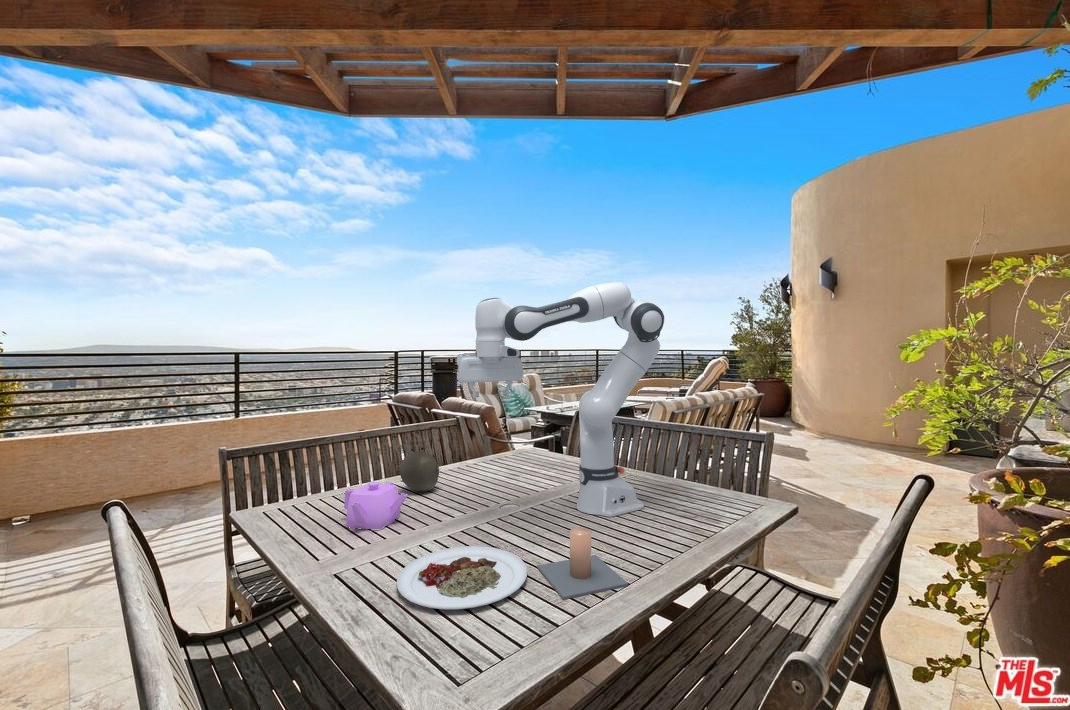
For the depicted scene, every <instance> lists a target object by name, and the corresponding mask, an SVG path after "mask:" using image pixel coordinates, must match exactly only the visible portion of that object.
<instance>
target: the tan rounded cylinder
mask: <svg viewBox="0 0 1070 710" xmlns="http://www.w3.org/2000/svg"><path fill="white" fill-rule="evenodd" d="M591 555H592V530H591V529H589V528H586V527H573V528H571V529H570V530H569V559H570V575H571V576H572V577H574V578H577V579H585V578H588V577H590V576H591Z"/></svg>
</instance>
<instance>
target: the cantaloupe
mask: <svg viewBox="0 0 1070 710" xmlns="http://www.w3.org/2000/svg"><path fill="white" fill-rule="evenodd" d="M439 467H440V466H439V464H438V463H437V460H436V458H435V457H434V456H433V455H432V454H430V453H429V452H426V451H416V452H411V453H409V454H408V455H406V456H405V457H404V458H403V460H402V461H401V463H400V465H399V475H400V478H401V480H402V482H403V484H405V486H407V487H408V488H409V489H411V490H413V491H415V492H419V491H425V492H428V491H430V490H432V489H433V488H434V487H435V486H436V485H437V483H438V480H439V477H440V476H439V475H440V468H439Z"/></svg>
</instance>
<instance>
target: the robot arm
mask: <svg viewBox="0 0 1070 710" xmlns="http://www.w3.org/2000/svg"><path fill="white" fill-rule="evenodd" d="M608 318H613V320H614V322H615V324H616V325H617V326H618V327H619V328H620V329H622V330H625V331H626V332H628V336H627V338H626V341H625V343H624V345H623V346H622V347H621V348H620V349H619V350H618V352H617V353H616V354H615V356H614V357H612V360H611V361H610V362H609V363H608V365H607V366H606V368H605V369H604V370H603V372H602V373H601V374H600V376H599V378H598V380H597V381H596V383H595V384H594V386H593V387H592V389H591V390H587V391H586V392H584V393H583V394H582V396H581V397H580V399H579V402H578V415H579V419H578V421H579V441H580V443H579V446H580V451H579V452H580V453H579V454H580V455H579V456H580V457H579V459H580V460H579V461H580V464H579V465H578V466H579V468H578V469H579V471H578V477H579V491H578V497H577V502H576V506H575V507H576V509H577V510H578V511H579V512H582V513H585V514H588V515H589V514H590V515H595V516H596V515H597V516H604V517H609V518H610V517H617V516H618V515H623V514H628V513H631V512H635V511H639V510H643V509H644V508H645V507H644V503H643V502H642V501H641V500H639V499H638V498H637V493H636V489H635V487H634V486H632V485H631V484H630V483H629V482H627V481H626V479H624V478H622V476H620V474H621V475H623V474H624V473H625V471H626V470H625V468H624V467H621V466H617V465H615V462H614V461H615V458H614V457H615V455H614V454H615V452H614V451H615V450H614V448H615V447H614V444H615V443H614V434H613V423H612V421H613V420H614V418H615V417H616V415H617V414H618V412H620V409H621V408H622V406H623V404H624V403H626V400H627V398H628V396H629V394H630V393H631V392H632V391H633V389H634V388H635V386H636V385H637V384H638V383H639V382H640V381H641V379H642V378H643V376H644V375H645V374H646V372H648V370H649V369H650V367H651V366H652V364H653V362H654V361H655V359H656V357H657V356H658V353H660V352H659V351H660V349H661V343H660V341H659V340H658V338H659V337H660V335H661V331H662V330H663V327H664V323H665V315H664V312H663V310H662V309H661V308H660V307H659V306H657V305H656V304H654V303H652V302H649V301H646V300H642V299H635V298H633V297H632V294H631V291H630V289H629V287H628V285H627V284H625V283H624V282H621V281H613V282H603V283H599V284H595V285H591V286H588V287H584V288H582V289H580V290H578V291H575V292H574V293H572V294H571V295H570V296H568V297H567V298H566V299H564V300H562V301H561V300H560V301H558V302H555V303H551V304H546V305H543V306H538V307H535V306H529V305H517V306H515V305H514V306H513V305H511V304H509V303H507V302H506V301H504V300H503V299H502V298H501V297H492V298H486V299H483V300H481V301H480V302H479V303H477V305H476V308H475V319H474V320H475V322H474V324H475V327H474V328H475V331H476V332H475V333H476V338H475V351H461V352H460V353H459V354H457V356H456V365H457V374H456V375H457V376H456V379H457V381H458V382H459V383H461V384H466V383H467V384H468V387H469V388H470V389H471V390H470V391H472V397H473V398H479V396H480V391H478V390H476V388H475V386H476V383H490V382H491V383H494V382H505V384H506V387H505V389H502V396H503V397H508V396H510V389H511V388H512V386H513V382H515V381H522V380H523V379H524V368H523V361H522V359H521V357H520V355H521V354H520V353H521V351H520V350H519V349H518V348H513V347H511V346H507V345H506V344H505V343H506V341H505V339H506V338H507V339H512V340H514V341H519V342H520V341H528V340H530V339H532V338H534V337H535V336H537V334H538V333H540V331H542V330H544V329H546V328H547V329H548V328H549V327H553V326H557V325H559V324H565V323H567V322H577V323H580V324H581V323H582V324H584V323H586V324H587V323H593V322H597V321H601V320H604V319H608Z"/></svg>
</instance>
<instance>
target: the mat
mask: <svg viewBox="0 0 1070 710" xmlns="http://www.w3.org/2000/svg"><path fill="white" fill-rule="evenodd" d="M536 568H537V570H538V572H540V574H541V575H542V576H543V577H544V579H545V580H546V581H547V583H549V585H550V586H551V587H552V588H553V590H554V591H555V592H556V593H557V594H558V595H559V597H560V598H561V599H562V600H565V601H566V600H570V599H573V598H578V597H583V596H588V595H592V594H596V593H601V592H607V591H612V590H616V589H621V588H625V587H628V586H629V583H628V582H627V581H626V580H625V579H624V578H623V577H622V576H621V575H619V574H618V573H617V572H616V571H615V570H614V569H612V567H611V566H609V565H608V564H607V563H605V561H603V560H602V559H601V558H600V557H598V556H597V555H596V554H591V576H590V577H588V578H585V579H577V578H574V577H572V576H571V575H570V558H569V559H565V560H559V561H554V562H548V563H544V564H537V565H536Z"/></svg>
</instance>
